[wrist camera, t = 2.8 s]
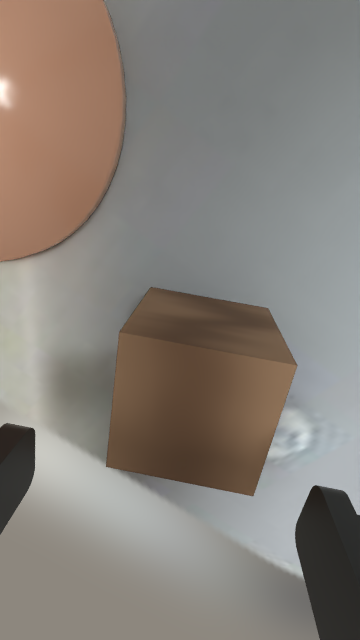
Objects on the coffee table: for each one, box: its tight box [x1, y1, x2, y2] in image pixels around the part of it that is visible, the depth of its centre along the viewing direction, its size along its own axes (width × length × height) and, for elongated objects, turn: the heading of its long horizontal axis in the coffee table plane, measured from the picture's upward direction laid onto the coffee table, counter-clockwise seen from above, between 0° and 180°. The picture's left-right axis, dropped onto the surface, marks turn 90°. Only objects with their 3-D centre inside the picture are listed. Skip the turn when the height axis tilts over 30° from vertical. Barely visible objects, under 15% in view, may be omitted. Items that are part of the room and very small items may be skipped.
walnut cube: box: [106, 287, 297, 496], centre depth 14 cm, size 6×6×6 cm
